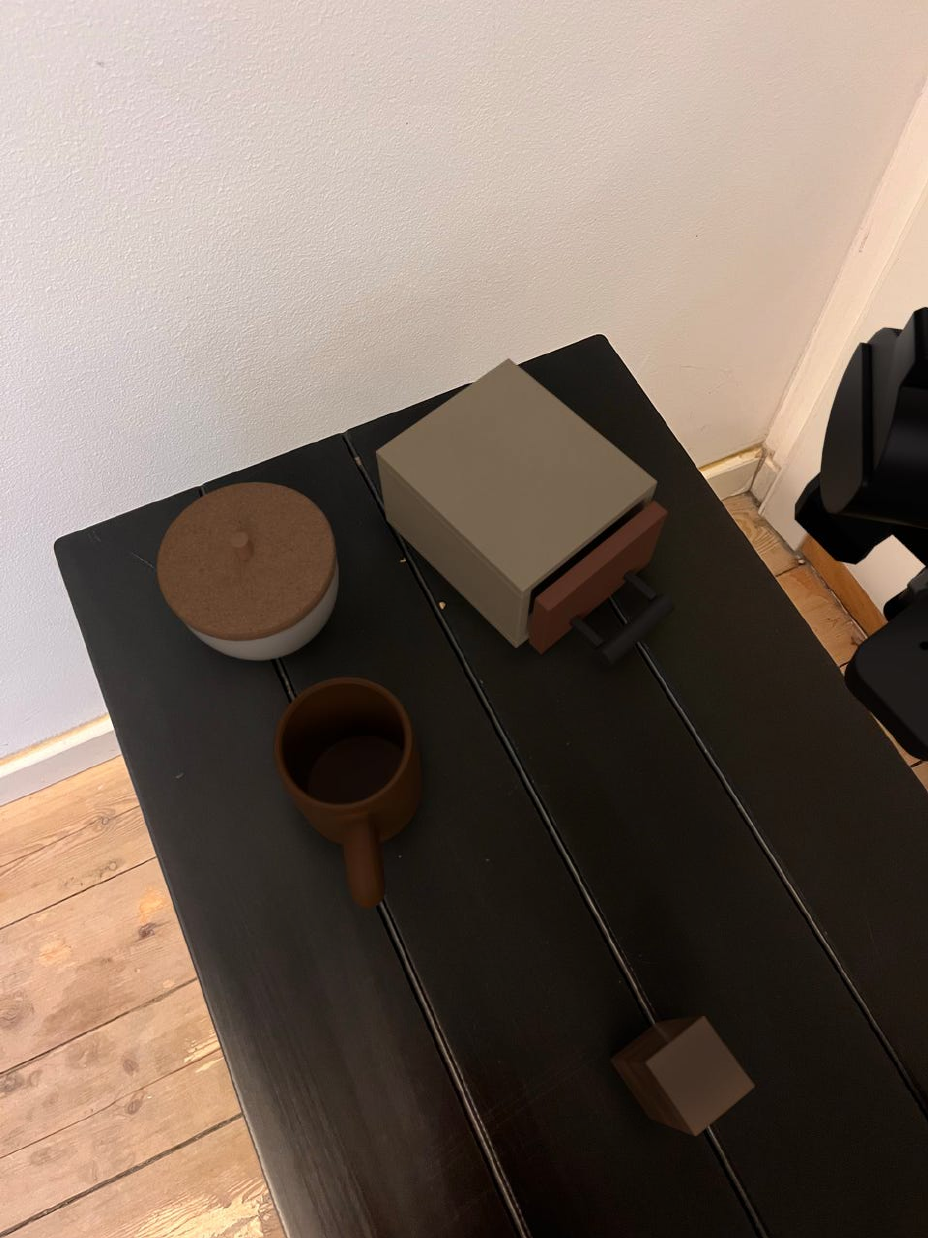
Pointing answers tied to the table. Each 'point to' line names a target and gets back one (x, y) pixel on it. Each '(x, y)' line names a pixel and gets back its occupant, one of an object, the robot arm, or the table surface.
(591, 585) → the drawer
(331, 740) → the mug
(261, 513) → the trinket box
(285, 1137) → the table surface
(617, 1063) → the post
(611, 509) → the cabinet
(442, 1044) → the table surface
